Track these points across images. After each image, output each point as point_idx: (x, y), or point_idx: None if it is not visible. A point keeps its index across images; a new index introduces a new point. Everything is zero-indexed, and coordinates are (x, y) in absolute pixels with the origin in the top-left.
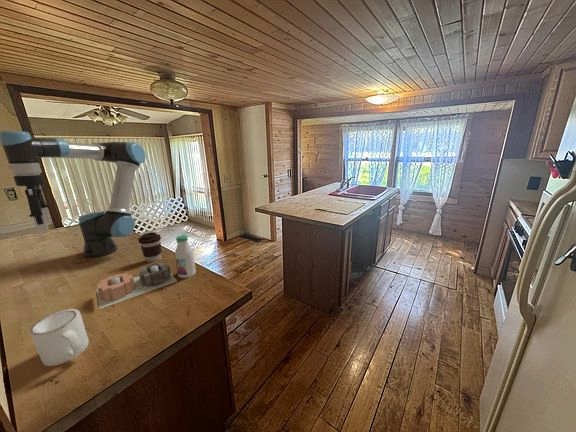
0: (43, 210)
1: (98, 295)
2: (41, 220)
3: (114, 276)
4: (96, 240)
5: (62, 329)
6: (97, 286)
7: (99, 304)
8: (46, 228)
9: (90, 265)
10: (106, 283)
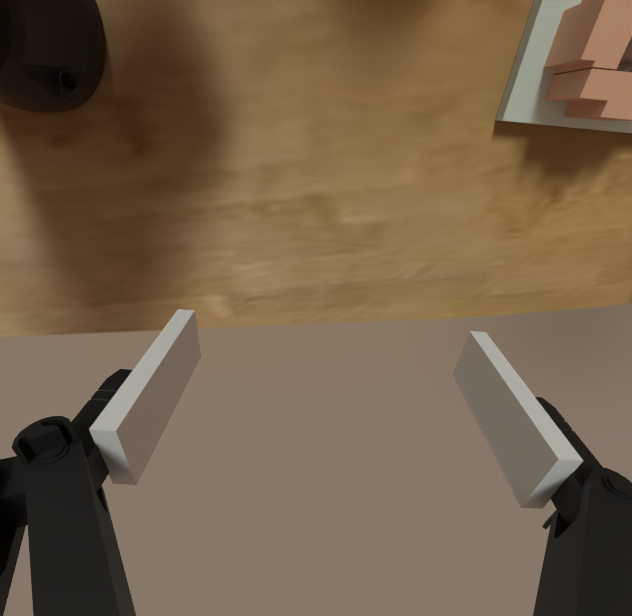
0: (137, 430)
1: (559, 121)
2: (571, 431)
3: (612, 25)
4: (3, 5)
5: None
6: (623, 118)
7: (627, 129)
8: (495, 353)
9: (199, 103)
10: None
